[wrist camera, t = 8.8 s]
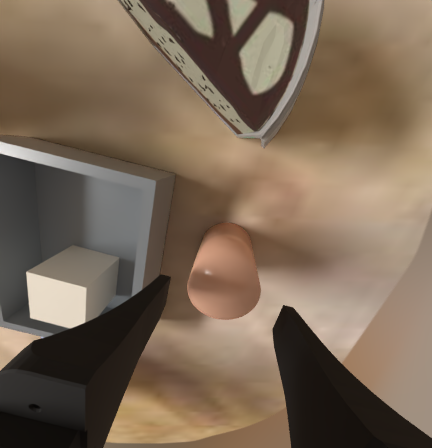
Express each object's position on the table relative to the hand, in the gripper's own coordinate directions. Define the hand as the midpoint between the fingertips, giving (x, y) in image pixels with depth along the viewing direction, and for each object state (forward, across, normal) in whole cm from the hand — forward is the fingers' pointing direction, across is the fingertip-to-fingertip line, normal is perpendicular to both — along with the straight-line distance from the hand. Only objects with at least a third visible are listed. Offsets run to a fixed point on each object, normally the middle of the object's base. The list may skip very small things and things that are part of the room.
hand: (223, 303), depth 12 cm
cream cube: (+8, +13, +6) cm, 16 cm away
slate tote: (+8, +13, +3) cm, 16 cm away
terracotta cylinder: (+8, 0, 0) cm, 8 cm away
